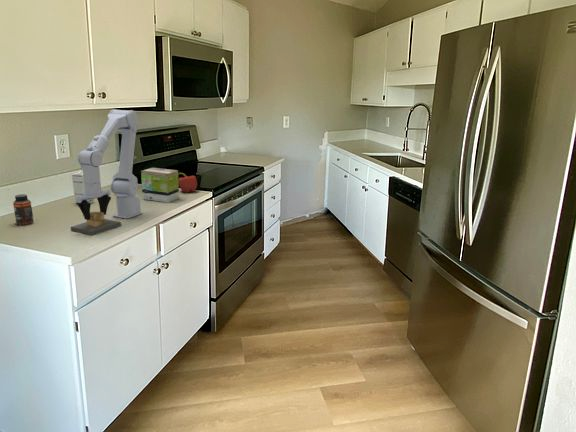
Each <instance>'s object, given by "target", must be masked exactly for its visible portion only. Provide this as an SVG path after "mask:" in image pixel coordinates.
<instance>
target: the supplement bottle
mask: <svg viewBox="0 0 576 432" xmlns="http://www.w3.org/2000/svg"><path fill="white" fill-rule="evenodd" d="M14 197H15V198H14V199H15V200H14V201H13V203H12V205H13V206H12V207H13V210H14V212H13V213H14V217H15V222H16V224H17V225H19V226H25V225H31V224H32V223H34V215H33V207H32V201H31V199H30V200H29V199H28V195H27V194H26V193H25V194H24V193H23V194H22V193H21V194H17V195H14Z"/></svg>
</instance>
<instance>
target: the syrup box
mask: <svg viewBox="0 0 576 432" xmlns="http://www.w3.org/2000/svg"><path fill="white" fill-rule="evenodd" d="M71 179H72V180H71V181H72V188H73V194H74V198H75V197H78V196H80V195H83V194H84V193H85V188H84V179H83V171H78V172H74V173H72V174H71ZM87 201H88V202H89V203H91V204H92V203H94V199H91V200H87ZM74 203H75V204H76V200H75V199H74ZM76 205H77V204H76Z"/></svg>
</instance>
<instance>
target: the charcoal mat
mask: <svg viewBox="0 0 576 432" xmlns="http://www.w3.org/2000/svg"><path fill="white" fill-rule="evenodd" d="M104 219H105V224H102V225H99V226H96V227H94V226H90V225H87V221H86V222H83V223H79V224H75V225H73V226H70V231H71V232H76V233H80V234H83V235H84V234H85V235H87V236H88V235H89V236H95V235H97V234H100V233H103V232H106V231H110V230H112V229H116V228H118V227H121V226H122V223H121V221H117V220H113V219H108V218H104Z"/></svg>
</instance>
